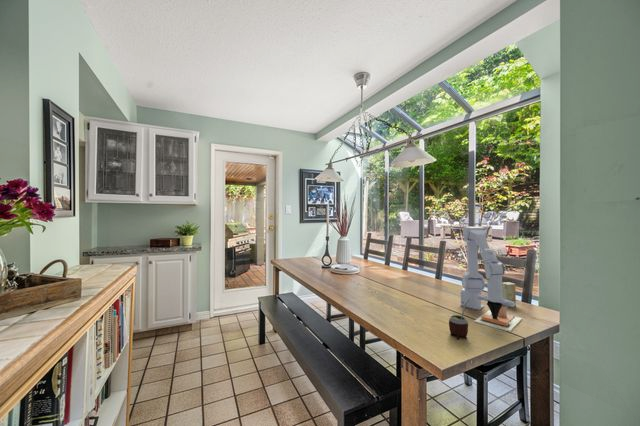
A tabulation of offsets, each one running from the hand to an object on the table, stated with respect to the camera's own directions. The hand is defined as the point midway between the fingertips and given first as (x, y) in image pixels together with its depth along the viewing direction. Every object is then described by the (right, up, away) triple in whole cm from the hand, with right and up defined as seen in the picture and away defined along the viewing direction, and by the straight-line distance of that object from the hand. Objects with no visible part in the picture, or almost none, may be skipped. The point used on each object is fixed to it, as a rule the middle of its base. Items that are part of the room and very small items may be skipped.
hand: (495, 318), depth 122 cm
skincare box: (+23, -3, +24) cm, 33 cm away
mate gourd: (-23, -3, -12) cm, 26 cm away
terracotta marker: (+8, -2, +7) cm, 10 cm away
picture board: (+4, -3, +3) cm, 6 cm away
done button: (0, -1, 0) cm, 1 cm away
